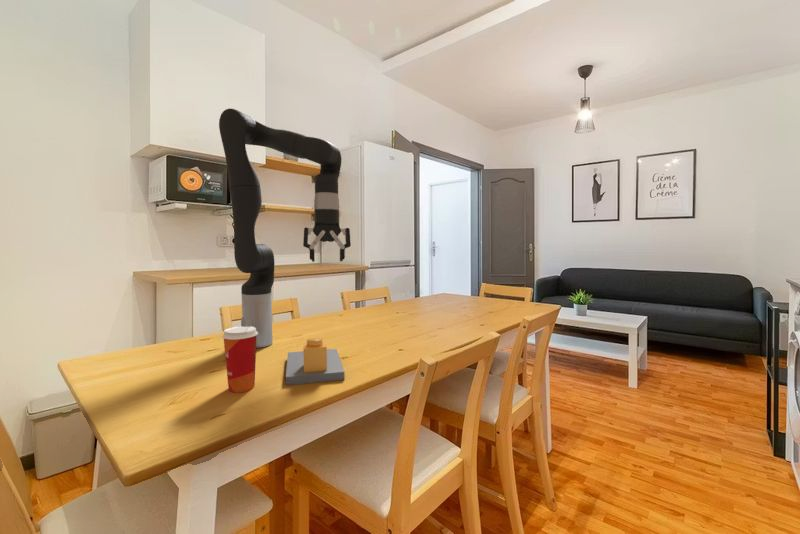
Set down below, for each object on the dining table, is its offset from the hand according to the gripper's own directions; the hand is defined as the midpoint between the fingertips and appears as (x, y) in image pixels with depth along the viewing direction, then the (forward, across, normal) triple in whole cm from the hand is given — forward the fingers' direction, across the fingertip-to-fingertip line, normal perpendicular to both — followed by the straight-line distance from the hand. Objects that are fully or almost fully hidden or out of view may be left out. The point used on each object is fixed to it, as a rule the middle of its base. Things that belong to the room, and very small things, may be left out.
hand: (327, 261), depth 114 cm
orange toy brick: (+26, +5, +21) cm, 34 cm away
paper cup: (+28, +22, +25) cm, 44 cm away
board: (+28, +5, +16) cm, 33 cm away
